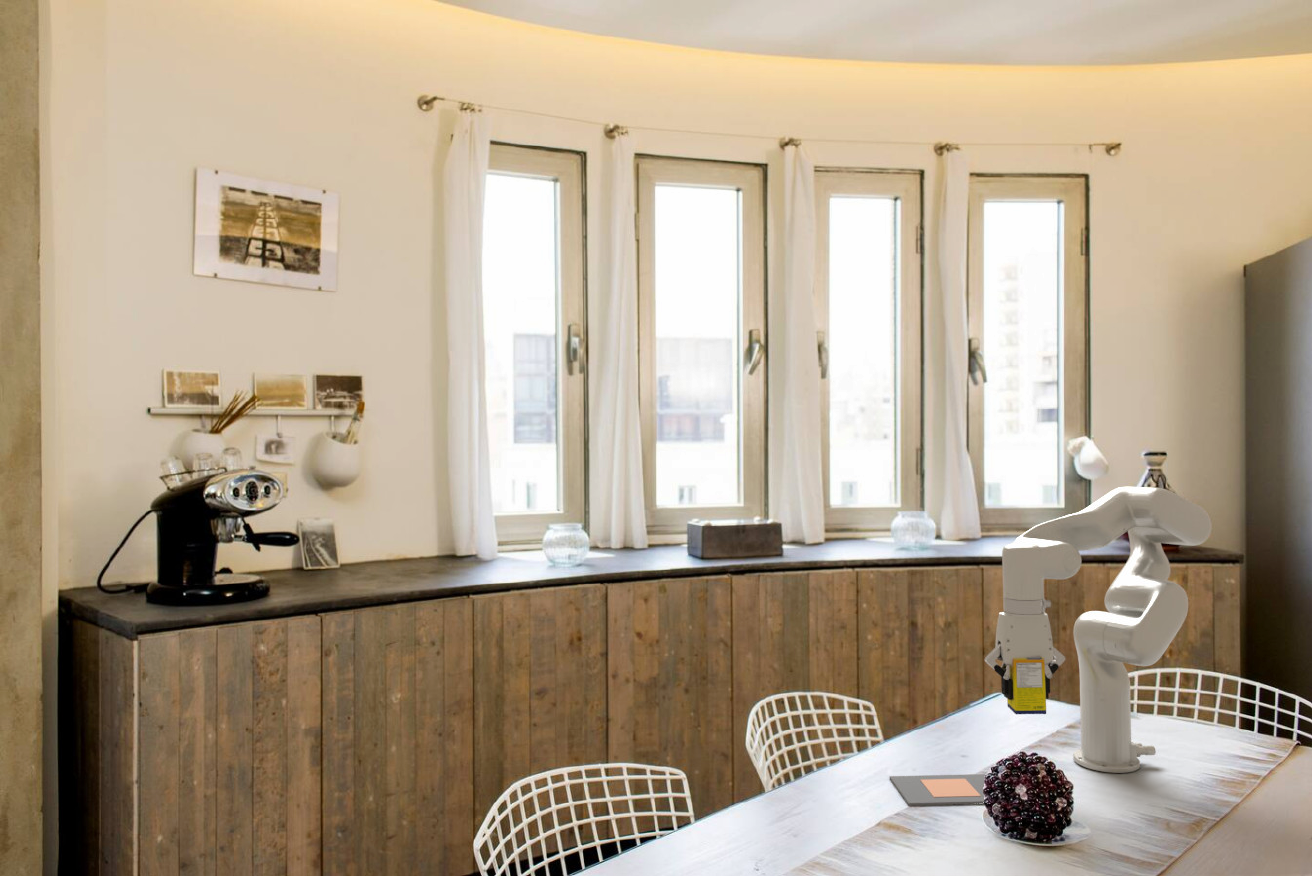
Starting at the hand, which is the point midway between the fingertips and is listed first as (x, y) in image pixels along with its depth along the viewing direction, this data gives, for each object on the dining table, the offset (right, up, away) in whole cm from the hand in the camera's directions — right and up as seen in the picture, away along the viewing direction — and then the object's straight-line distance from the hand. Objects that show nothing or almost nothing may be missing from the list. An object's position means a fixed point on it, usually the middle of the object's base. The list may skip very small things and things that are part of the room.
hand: (1025, 696), depth 185 cm
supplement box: (0, -3, 0) cm, 3 cm away
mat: (-16, -18, -2) cm, 24 cm away
